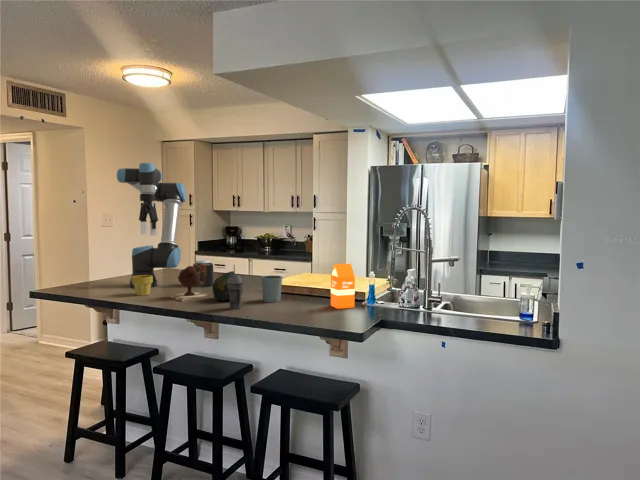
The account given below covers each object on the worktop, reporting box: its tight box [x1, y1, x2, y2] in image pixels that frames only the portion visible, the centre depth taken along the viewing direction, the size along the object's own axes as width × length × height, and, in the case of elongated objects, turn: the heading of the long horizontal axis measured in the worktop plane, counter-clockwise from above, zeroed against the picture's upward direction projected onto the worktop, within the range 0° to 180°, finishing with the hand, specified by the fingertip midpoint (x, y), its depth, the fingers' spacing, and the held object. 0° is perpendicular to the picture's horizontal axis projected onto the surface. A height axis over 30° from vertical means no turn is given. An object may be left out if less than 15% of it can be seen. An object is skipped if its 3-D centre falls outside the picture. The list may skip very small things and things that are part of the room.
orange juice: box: [330, 262, 356, 310], centre depth 226 cm, size 8×9×20 cm
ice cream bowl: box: [177, 265, 200, 296], centre depth 247 cm, size 11×11×15 cm
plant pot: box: [132, 275, 153, 297], centre depth 255 cm, size 10×10×10 cm
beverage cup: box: [227, 264, 244, 310], centre depth 222 cm, size 7×7×20 cm
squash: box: [212, 270, 243, 302], centre depth 242 cm, size 14×15×15 cm
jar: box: [192, 258, 215, 288], centre depth 284 cm, size 12×12×15 cm
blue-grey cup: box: [261, 274, 283, 303], centre depth 240 cm, size 10×10×12 cm
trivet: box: [169, 290, 211, 302], centre depth 248 cm, size 15×15×2 cm
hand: (148, 234), depth 250 cm, fingers open, 13 cm apart
